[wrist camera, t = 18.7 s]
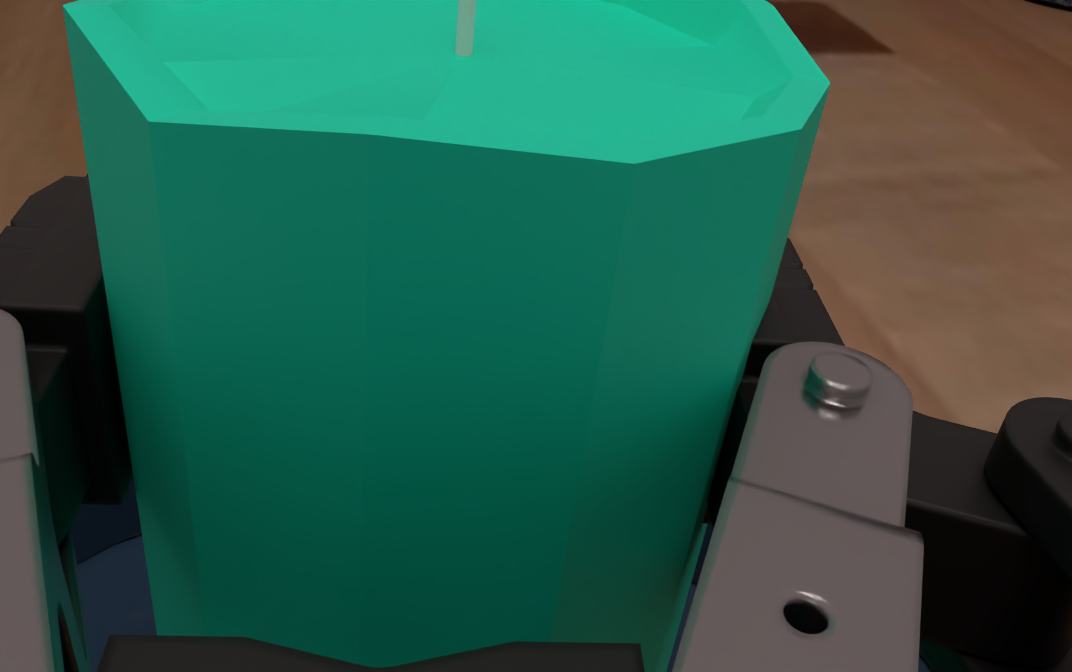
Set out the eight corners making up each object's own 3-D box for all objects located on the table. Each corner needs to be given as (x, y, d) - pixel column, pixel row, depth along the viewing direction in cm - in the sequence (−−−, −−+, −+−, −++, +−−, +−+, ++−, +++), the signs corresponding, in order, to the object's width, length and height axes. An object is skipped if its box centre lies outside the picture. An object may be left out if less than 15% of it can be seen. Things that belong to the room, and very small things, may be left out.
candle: (406, 539, 17) (447, -266, 11) (708, 747, 15) (1014, -160, 8) (88, 781, 13) (-165, -288, 7) (427, 1134, 11) (580, -84, 4)
